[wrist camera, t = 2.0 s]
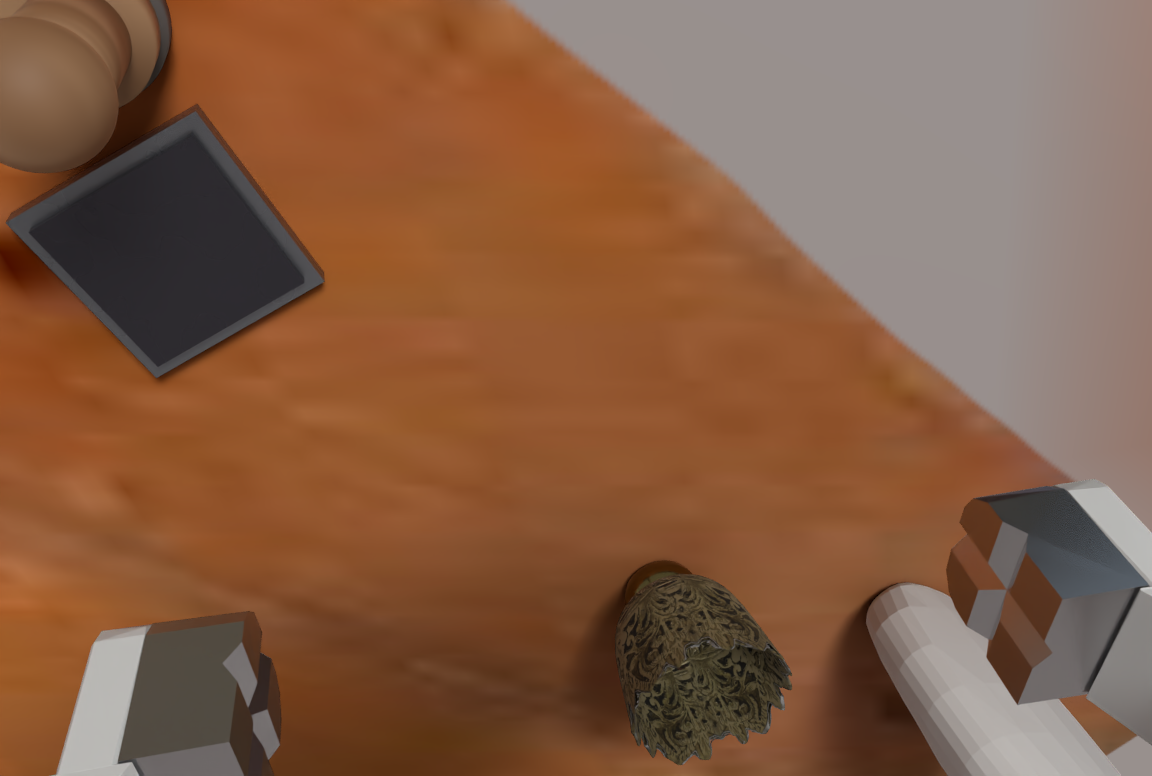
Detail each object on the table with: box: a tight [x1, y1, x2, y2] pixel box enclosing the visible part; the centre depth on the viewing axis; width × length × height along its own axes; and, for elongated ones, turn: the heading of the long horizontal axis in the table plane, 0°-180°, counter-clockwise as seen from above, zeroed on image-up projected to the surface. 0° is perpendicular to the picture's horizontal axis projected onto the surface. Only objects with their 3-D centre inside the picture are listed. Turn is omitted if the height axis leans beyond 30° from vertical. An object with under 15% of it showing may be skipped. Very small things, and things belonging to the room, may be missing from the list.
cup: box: [615, 561, 792, 765], centre depth 44 cm, size 8×7×8 cm
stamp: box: [0, 0, 172, 173], centre depth 24 cm, size 4×4×10 cm
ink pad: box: [6, 104, 325, 378], centre depth 32 cm, size 7×7×1 cm
